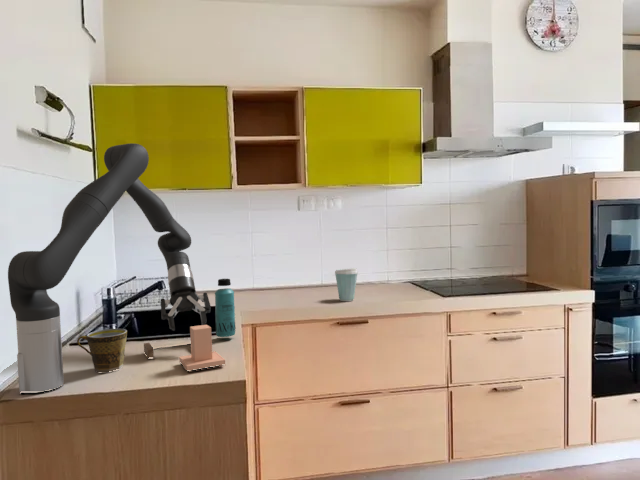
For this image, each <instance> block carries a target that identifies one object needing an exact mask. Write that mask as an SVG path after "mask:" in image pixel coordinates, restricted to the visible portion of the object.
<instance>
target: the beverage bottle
mask: <svg viewBox="0 0 640 480" xmlns="http://www.w3.org/2000/svg"><path fill="white" fill-rule="evenodd" d="M231 284H232V283H231V279H230V278H219V279H218V280H217V286H218V287H226V288H219V289H217V290H215V292H214V301H215V303H214V304H215V310H214V315H215V316H214V317H215V327H214V328H215V335H216V336H217V338H218V337H219V338H227V337H228V338H229V337H232V336H233V337H234V336H235V335H236V329H237V328H236V317H235V316H236V313H235V310H236V309H235V308H236V307H235V291H234V290H233V289H232V288H227V287H228V286H231Z"/></svg>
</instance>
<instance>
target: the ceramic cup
mask: <svg viewBox="0 0 640 480" xmlns="http://www.w3.org/2000/svg"><path fill="white" fill-rule="evenodd" d="M127 336H128V330H127V329H126V328H125V329H124V328H106V329H100V330H95V331H92V332H89V333H87V334H86V335H81V336H78V338H77V341H76V344H77V345H78V347H80V348H81V349H83V350H85V352H87V353H88V354H89V355H90V356H91V359H92V364H93V368H94V371H95V372H96V371H97V372H96V373H98V372H109V371H113V370H116V369H120V368H121V367H122V366H124V358H125V351H126V344H127ZM81 339H83V340H86V341H87V345H88V348H89V350H88V349H87V348H86V347H85V346H84V345H82V344H81V343H80V340H81ZM122 368H123V367H122ZM122 368H121V369H122ZM121 369H120V370H121Z"/></svg>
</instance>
